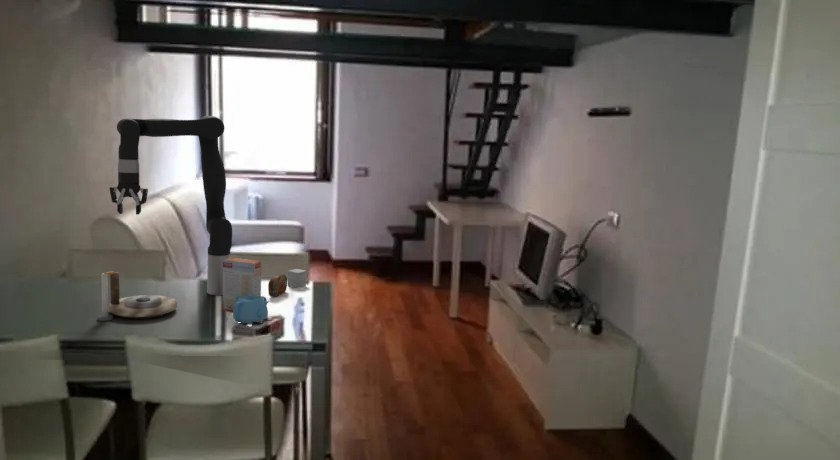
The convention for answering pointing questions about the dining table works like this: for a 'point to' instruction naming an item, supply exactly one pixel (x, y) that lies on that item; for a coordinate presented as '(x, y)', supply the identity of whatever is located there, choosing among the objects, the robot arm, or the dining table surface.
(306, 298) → the dining table surface
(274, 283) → the brown rounded slab
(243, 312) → the teapot
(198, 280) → the dining table surface
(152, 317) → the turntable base
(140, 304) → the turntable
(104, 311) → the post
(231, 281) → the cracker box
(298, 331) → the dining table surface
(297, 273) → the grey rounded block
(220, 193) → the robot arm
